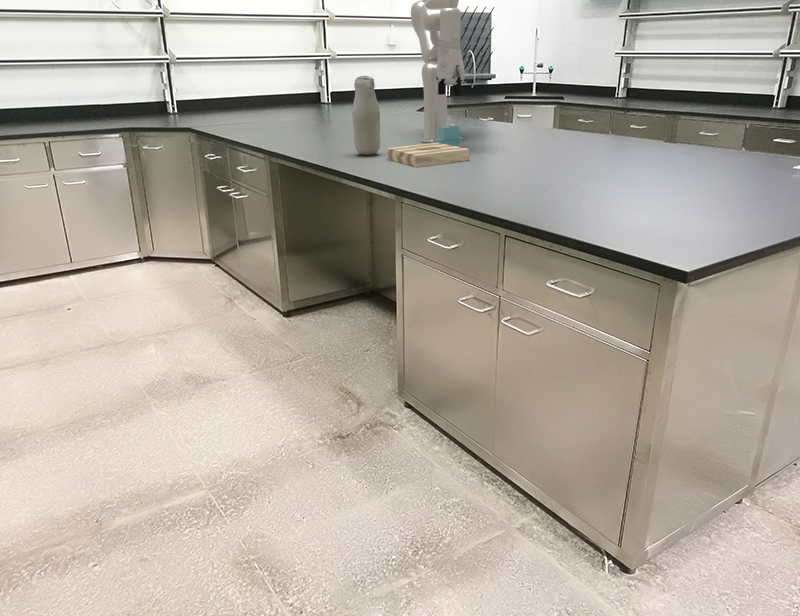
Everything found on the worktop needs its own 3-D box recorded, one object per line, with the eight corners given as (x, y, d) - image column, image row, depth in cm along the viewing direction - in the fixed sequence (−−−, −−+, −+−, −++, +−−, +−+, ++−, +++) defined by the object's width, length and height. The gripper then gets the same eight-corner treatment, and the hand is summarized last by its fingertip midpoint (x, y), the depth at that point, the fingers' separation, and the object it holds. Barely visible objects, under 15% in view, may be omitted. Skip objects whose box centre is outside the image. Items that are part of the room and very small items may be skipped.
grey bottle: (382, 152, 240) (380, 74, 230) (378, 157, 231) (376, 76, 220) (356, 152, 241) (353, 75, 231) (352, 157, 232) (348, 76, 221)
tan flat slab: (386, 159, 226) (386, 148, 225) (437, 153, 237) (437, 142, 235) (416, 167, 210) (416, 155, 209) (469, 160, 221) (469, 149, 219)
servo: (432, 151, 241) (432, 125, 237) (457, 148, 246) (457, 122, 243) (438, 152, 238) (438, 126, 234) (463, 149, 243) (464, 123, 240)
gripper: (428, 46, 233) (428, 94, 239) (455, 45, 219) (454, 97, 226) (444, 45, 236) (444, 93, 243) (472, 45, 223) (471, 95, 229)
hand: (449, 95), depth 234 cm, fingers open, 9 cm apart
